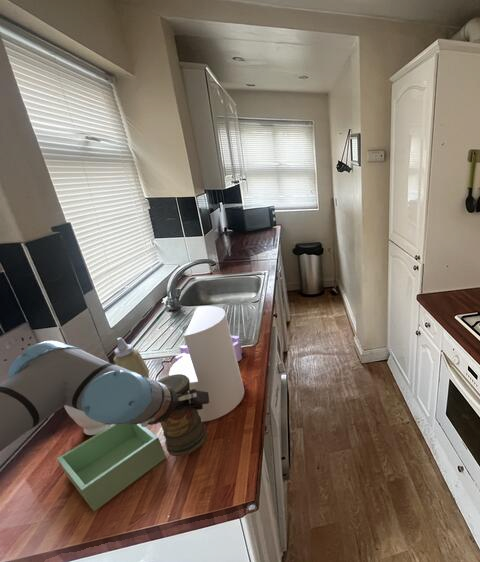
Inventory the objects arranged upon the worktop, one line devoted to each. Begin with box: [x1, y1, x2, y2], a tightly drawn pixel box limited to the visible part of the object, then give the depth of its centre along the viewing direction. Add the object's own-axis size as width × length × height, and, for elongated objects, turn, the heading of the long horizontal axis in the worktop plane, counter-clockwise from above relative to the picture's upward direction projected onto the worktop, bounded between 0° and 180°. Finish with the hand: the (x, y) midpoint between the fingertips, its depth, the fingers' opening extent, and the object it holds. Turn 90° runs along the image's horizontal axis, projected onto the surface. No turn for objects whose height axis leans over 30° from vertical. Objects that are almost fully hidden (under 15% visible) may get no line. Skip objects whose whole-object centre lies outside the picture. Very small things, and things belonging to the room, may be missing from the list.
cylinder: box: [168, 305, 245, 423], centre depth 89 cm, size 17×17×28 cm
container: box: [157, 374, 208, 457], centre depth 75 cm, size 9×9×18 cm
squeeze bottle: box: [113, 337, 150, 379], centre depth 99 cm, size 8×8×18 cm
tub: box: [56, 424, 167, 512], centre depth 73 cm, size 15×15×7 cm
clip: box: [174, 335, 244, 363], centre depth 111 cm, size 20×12×7 cm, turn 110°
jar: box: [63, 405, 113, 436], centre depth 84 cm, size 11×10×15 cm
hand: (181, 409), depth 78 cm, fingers closed on container, 8 cm apart
